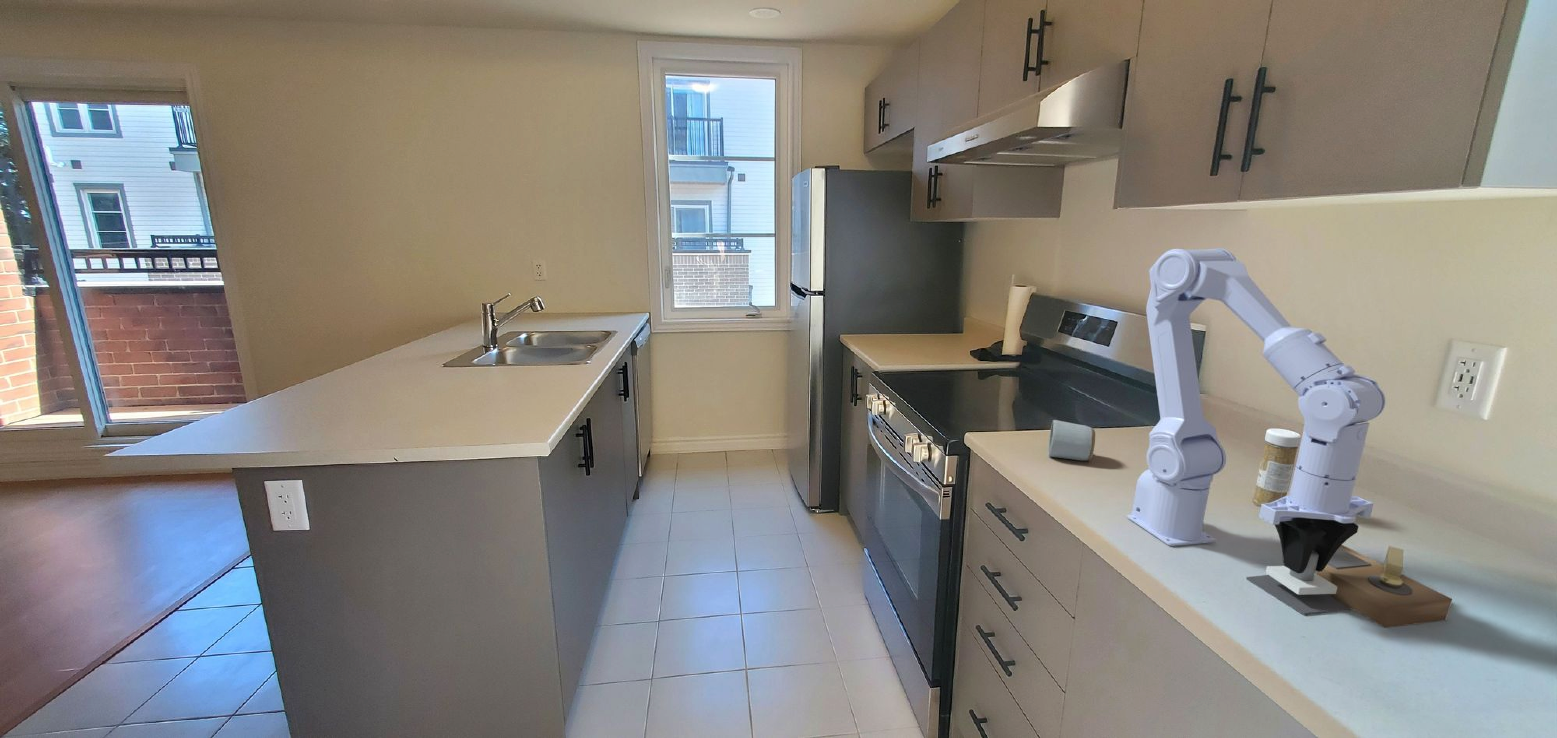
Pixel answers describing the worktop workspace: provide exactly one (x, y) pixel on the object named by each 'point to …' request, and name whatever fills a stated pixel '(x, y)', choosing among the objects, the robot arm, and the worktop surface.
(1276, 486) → the sprinkles bottle
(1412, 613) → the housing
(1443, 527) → the worktop surface
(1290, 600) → the mat
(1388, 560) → the lever handle
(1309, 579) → the cover
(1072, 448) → the ceramic mug
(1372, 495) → the worktop surface
